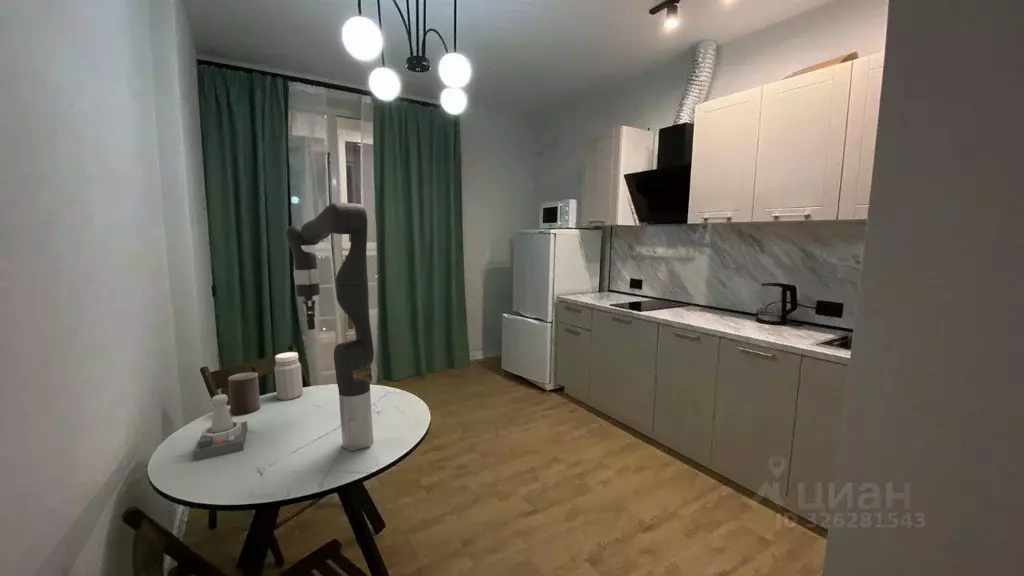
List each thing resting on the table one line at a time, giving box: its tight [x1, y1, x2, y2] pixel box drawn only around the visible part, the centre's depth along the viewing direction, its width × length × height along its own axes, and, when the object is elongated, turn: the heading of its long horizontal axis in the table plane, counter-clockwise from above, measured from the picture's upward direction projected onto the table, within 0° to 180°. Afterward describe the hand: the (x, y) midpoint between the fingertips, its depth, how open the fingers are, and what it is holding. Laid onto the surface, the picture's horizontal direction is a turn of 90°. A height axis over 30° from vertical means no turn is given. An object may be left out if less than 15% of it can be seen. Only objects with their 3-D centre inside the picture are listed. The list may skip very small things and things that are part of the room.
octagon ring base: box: [193, 419, 249, 461], centre depth 131 cm, size 16×12×6 cm
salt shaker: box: [210, 393, 233, 434], centre depth 130 cm, size 6×6×13 cm
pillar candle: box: [227, 372, 261, 416], centre depth 156 cm, size 10×10×15 cm
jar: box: [273, 351, 304, 401], centre depth 169 cm, size 10×10×18 cm
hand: (311, 327), depth 145 cm, fingers open, 8 cm apart
